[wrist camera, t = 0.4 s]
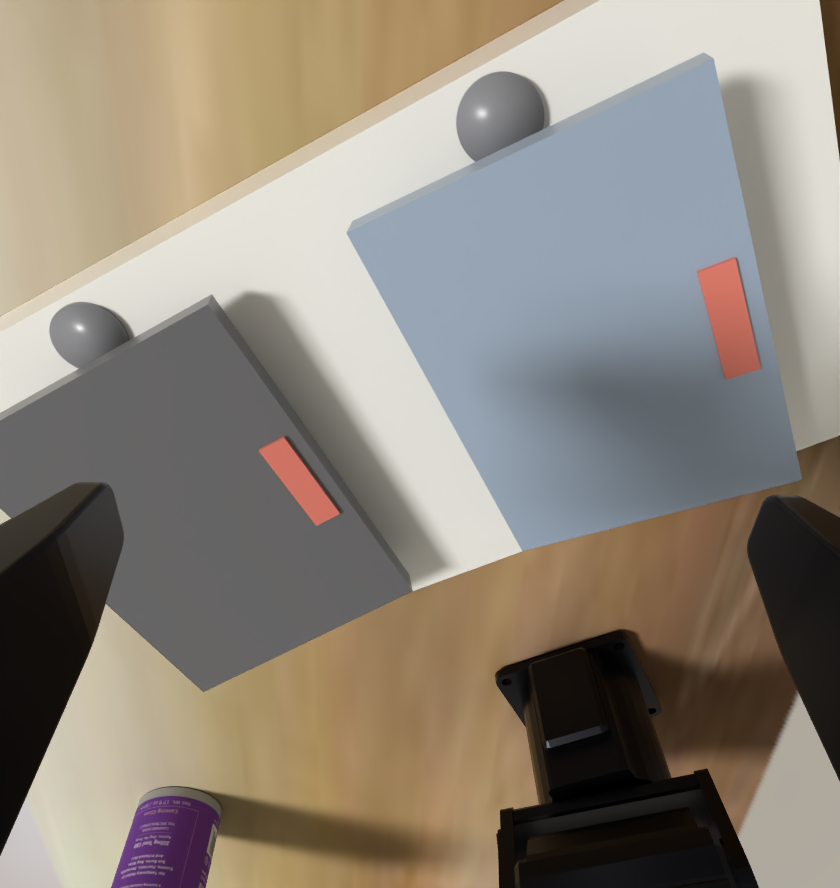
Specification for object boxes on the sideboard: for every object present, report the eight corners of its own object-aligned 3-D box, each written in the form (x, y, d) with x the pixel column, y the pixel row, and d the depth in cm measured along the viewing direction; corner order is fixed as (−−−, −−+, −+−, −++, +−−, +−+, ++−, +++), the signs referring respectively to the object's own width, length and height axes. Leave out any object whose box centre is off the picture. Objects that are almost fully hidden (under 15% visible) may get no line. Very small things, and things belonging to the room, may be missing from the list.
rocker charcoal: (405, 554, 23) (413, 593, 22) (210, 649, 24) (203, 694, 22) (216, 281, 18) (207, 305, 16) (-29, 419, 18) (-63, 456, 17)
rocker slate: (780, 438, 19) (803, 482, 18) (521, 510, 22) (522, 553, 21) (691, 45, 14) (715, 59, 12) (360, 206, 17) (345, 234, 15)
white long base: (813, 369, 23) (876, 427, 20) (218, 601, 29) (196, 673, 26) (732, -94, 16) (810, -115, 13) (-37, 337, 22) (-109, 393, 19)
